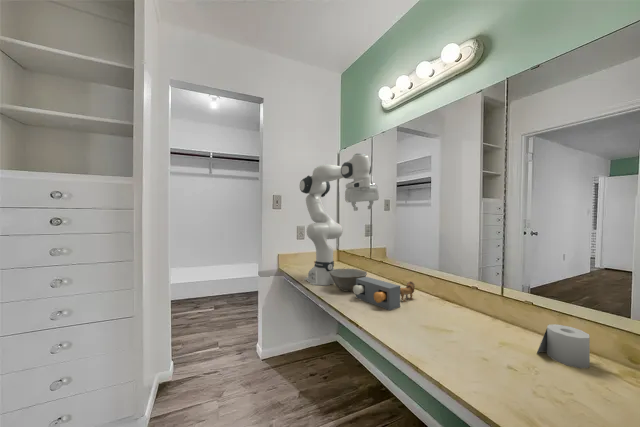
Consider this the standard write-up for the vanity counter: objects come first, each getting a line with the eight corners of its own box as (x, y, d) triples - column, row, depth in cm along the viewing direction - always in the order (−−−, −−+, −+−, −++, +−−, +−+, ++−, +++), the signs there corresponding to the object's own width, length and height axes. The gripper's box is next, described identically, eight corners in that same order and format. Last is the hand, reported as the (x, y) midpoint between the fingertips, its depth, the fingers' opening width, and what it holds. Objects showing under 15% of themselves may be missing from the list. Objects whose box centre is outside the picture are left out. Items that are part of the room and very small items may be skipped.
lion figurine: (407, 296, 136) (408, 279, 136) (417, 298, 132) (417, 281, 132) (392, 301, 127) (392, 283, 127) (401, 304, 123) (401, 286, 123)
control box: (355, 297, 133) (356, 278, 133) (366, 294, 138) (366, 276, 138) (389, 310, 115) (389, 288, 115) (400, 306, 120) (400, 285, 120)
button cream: (353, 293, 129) (353, 284, 130) (359, 292, 132) (359, 283, 132) (359, 296, 126) (359, 286, 126) (366, 294, 128) (366, 285, 128)
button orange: (373, 301, 118) (373, 290, 118) (380, 299, 121) (380, 289, 121) (381, 304, 114) (381, 293, 114) (388, 302, 117) (388, 291, 117)
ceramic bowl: (324, 292, 141) (324, 275, 141) (334, 282, 163) (334, 267, 163) (363, 297, 134) (363, 278, 134) (369, 285, 156) (369, 269, 156)
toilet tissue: (528, 352, 80) (528, 325, 80) (565, 350, 81) (565, 324, 82) (558, 369, 71) (557, 339, 71) (599, 367, 72) (599, 337, 72)
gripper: (373, 183, 141) (374, 208, 142) (342, 184, 132) (343, 211, 133) (381, 183, 135) (381, 208, 136) (349, 184, 126) (350, 211, 127)
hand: (362, 209), depth 135 cm, fingers open, 8 cm apart
